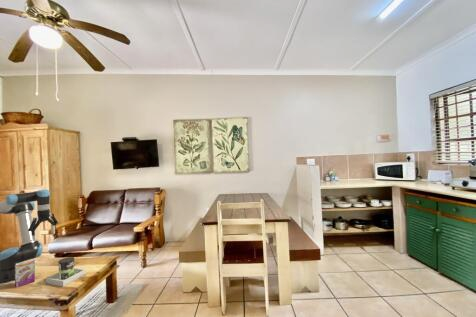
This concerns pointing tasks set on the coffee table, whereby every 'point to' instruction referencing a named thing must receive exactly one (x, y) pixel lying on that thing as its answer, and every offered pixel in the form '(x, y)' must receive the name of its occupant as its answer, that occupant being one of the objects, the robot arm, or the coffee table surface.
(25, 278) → the candy bar box
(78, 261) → the coffee table surface
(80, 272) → the tote
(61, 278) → the coffee can
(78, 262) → the coffee table surface
